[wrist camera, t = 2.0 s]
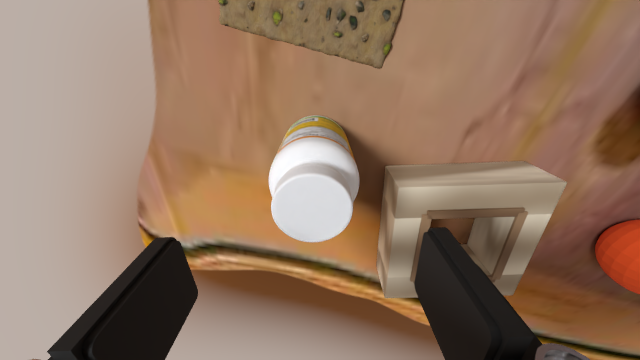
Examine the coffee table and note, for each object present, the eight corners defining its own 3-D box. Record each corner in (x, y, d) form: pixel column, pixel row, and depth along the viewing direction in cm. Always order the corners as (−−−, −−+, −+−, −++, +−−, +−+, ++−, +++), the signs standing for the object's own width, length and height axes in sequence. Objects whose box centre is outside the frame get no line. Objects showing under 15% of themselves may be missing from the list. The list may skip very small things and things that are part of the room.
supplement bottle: (329, 184, 22) (334, 266, 13) (274, 159, 21) (240, 231, 12) (359, 132, 20) (390, 190, 11) (300, 101, 18) (281, 138, 10)
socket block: (385, 165, 21) (399, 189, 17) (524, 161, 21) (569, 183, 17) (376, 265, 26) (385, 299, 22) (486, 262, 26) (514, 297, 22)
